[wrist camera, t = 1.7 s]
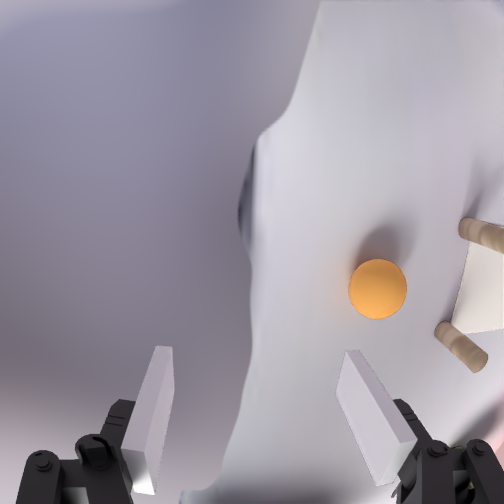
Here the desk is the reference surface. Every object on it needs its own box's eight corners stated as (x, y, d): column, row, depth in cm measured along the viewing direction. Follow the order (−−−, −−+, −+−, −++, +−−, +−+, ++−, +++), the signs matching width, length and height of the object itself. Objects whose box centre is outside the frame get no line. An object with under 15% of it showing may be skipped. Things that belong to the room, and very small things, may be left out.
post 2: (446, 338, 34) (483, 371, 26) (432, 339, 33) (468, 374, 26) (452, 320, 33) (490, 351, 25) (437, 321, 33) (476, 354, 25)
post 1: (471, 239, 31) (518, 258, 23) (456, 237, 30) (504, 256, 23) (474, 218, 30) (523, 233, 22) (460, 216, 30) (509, 231, 22)
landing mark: (511, 327, 35) (511, 327, 34) (446, 335, 33) (447, 335, 33) (534, 232, 31) (535, 233, 31) (472, 221, 30) (473, 222, 30)
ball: (384, 304, 32) (409, 328, 26) (336, 304, 31) (355, 330, 26) (394, 253, 30) (423, 270, 25) (345, 250, 30) (367, 268, 24)
